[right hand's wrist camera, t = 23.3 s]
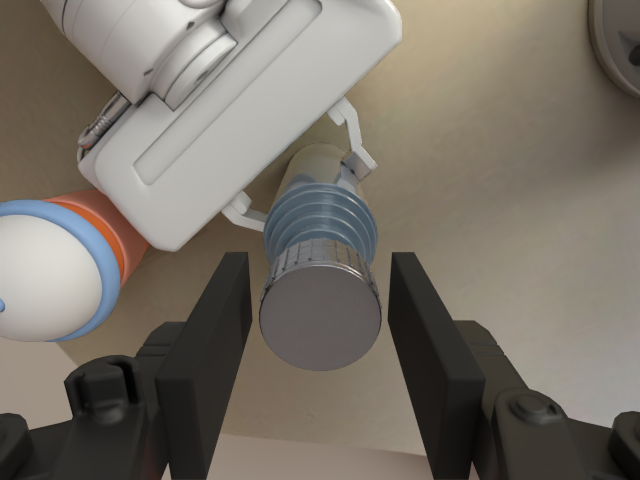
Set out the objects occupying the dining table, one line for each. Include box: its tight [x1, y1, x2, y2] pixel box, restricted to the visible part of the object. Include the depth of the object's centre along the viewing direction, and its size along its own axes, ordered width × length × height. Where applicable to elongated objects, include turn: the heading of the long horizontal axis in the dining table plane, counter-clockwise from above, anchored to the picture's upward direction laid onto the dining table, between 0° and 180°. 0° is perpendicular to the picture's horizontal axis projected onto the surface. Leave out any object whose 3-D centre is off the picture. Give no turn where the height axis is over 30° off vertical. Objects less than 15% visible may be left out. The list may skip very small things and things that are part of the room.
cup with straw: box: [0, 189, 150, 342], centre depth 25 cm, size 9×9×18 cm
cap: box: [259, 238, 381, 371], centre depth 13 cm, size 4×4×2 cm
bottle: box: [263, 143, 378, 267], centre depth 23 cm, size 5×5×21 cm
